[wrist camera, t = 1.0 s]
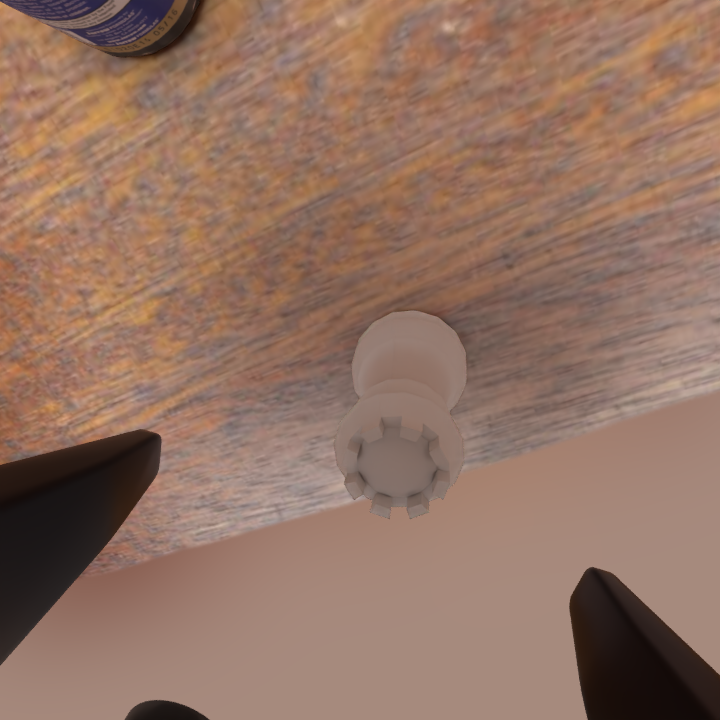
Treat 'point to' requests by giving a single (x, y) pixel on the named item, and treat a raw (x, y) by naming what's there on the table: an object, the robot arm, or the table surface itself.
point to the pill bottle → (114, 22)
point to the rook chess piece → (403, 414)
